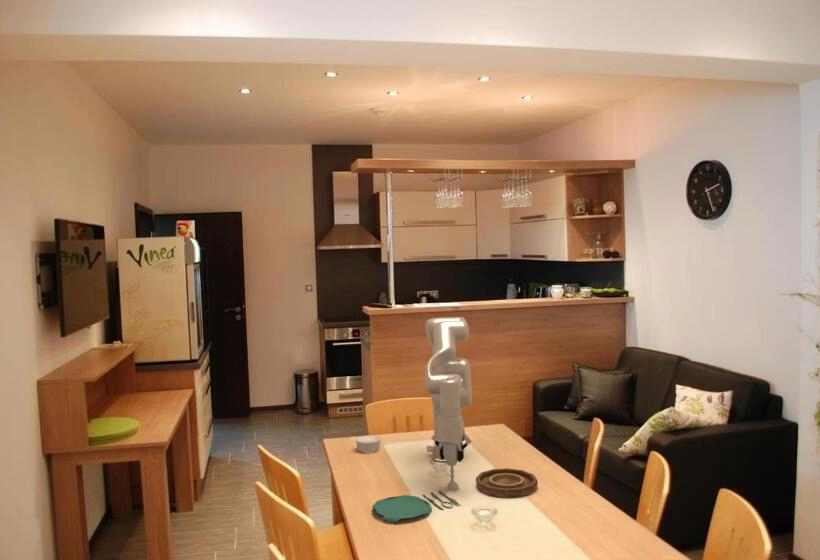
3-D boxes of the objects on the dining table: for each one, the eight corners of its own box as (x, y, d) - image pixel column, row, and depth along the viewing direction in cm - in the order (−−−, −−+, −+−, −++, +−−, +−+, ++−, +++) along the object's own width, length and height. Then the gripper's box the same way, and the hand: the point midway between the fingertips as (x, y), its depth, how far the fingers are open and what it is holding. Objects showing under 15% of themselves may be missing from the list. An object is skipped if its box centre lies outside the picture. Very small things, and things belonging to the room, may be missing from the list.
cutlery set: (364, 507, 223) (363, 501, 223) (439, 492, 237) (439, 486, 236) (387, 529, 206) (387, 522, 205) (467, 512, 219) (467, 505, 219)
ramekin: (352, 448, 291) (352, 437, 291) (375, 445, 295) (375, 433, 295) (361, 455, 281) (360, 443, 280) (384, 451, 285) (384, 440, 285)
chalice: (462, 485, 241) (461, 438, 240) (462, 492, 234) (460, 443, 233) (443, 485, 242) (441, 438, 241) (442, 492, 235) (440, 443, 234)
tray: (468, 493, 233) (468, 485, 233) (488, 473, 253) (487, 465, 253) (527, 501, 223) (527, 493, 223) (543, 480, 243) (542, 472, 243)
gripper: (424, 412, 237) (426, 460, 238) (468, 416, 229) (470, 465, 230) (432, 407, 244) (434, 454, 245) (475, 411, 236) (477, 459, 237)
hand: (451, 459), depth 237 cm, fingers closed on chalice, 6 cm apart
